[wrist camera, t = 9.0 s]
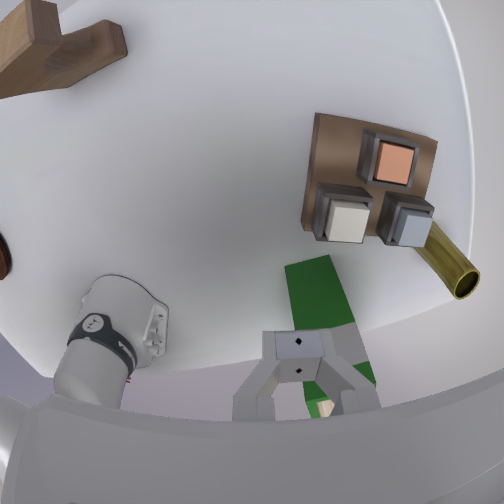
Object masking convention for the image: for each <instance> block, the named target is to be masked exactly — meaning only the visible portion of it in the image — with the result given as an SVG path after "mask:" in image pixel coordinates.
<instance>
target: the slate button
mask: <svg viewBox="0 0 504 504" xmlns="http://www.w3.org/2000/svg"><path fill="white" fill-rule="evenodd" d="M432 221H433V218H432V217H431V216H430V215H429V214H428V213H426V212H425V211H424V210H420V209H413V208H407V207H400V211H399V215H398V218H397V222H396V225H395V228H394V232H393V235H392V238H393V239H394V240H395V242H396V243H397V244H398V245H400V246H413V247H424V244H425V242H426V239H427V236H428V233H429V230H430V227H431V224H432Z"/></svg>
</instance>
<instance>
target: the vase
mask: <svg viewBox="0 0 504 504" xmlns="http://www.w3.org/2000/svg"><path fill="white" fill-rule="evenodd" d="M413 248H414V249H415V250H416V251H417V252H418V253H419V254H420V255H421V257H422V258H423V259H424V260H425V261H426V262H427V263H428V264H429V265H430V267H431V268H432V269H433V270H434V271H435V272H436V273H437V274H438V276H439V277H440V278H441V280H442V281H443V282H444V284H445V285H446V287H447V288H448V289H449V291H450V292H451V293H452V295H453V296H454V297H455V298H456V299H464V298H465V297H467V296H469V295H470V294H471V293H472V292H473V291H474V290H475V289H476V287H477V285H478V283H479V281H480V272H479V271H478V270H477V269H476V268H475V267H474V266H473V265H472V264H471V262H470V261H469V260H468V259H467V258H466V257H465V255H464V254H463V253H462V252H461V251H460V250H459V249H458V248H457V247H456V246H455V245H454V244H453V242H452V241H451V240H450V239H449V238H448V237H447V236H446V235H445V234H444V233H443V231H442V230H441V229H440V228H439V227H438V226H437V224H436V223H435V222H434V221H432V224H431V227H430V230H429V233H428V236H427V239H426V242H425V244H424V247H421V248H416V247H413Z"/></svg>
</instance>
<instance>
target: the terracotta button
mask: <svg viewBox="0 0 504 504" xmlns="http://www.w3.org/2000/svg"><path fill="white" fill-rule="evenodd" d="M413 153H414V150H412V149H409V148H407V147H405V146H403V145H400V144H396V143H391V142H387V141H382V140H380V141H379V147H378V153H377V158H376V164H375V169H374V174H373V176H374V177H375V178H376V179H380V180H386V181H392V182H397V183H403V184H407V181H408V177H409V172H410V168H411V163H412V158H413Z"/></svg>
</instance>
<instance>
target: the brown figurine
mask: <svg viewBox="0 0 504 504" xmlns="http://www.w3.org/2000/svg"><path fill="white" fill-rule="evenodd" d="M10 261H11V259H10V258H8V257H7V253H6V251H5V248H4V246H3V244H2V242H1V241H0V280H3V279H4V278H5V277H6V276H7V274H8V272H9V263H10Z"/></svg>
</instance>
